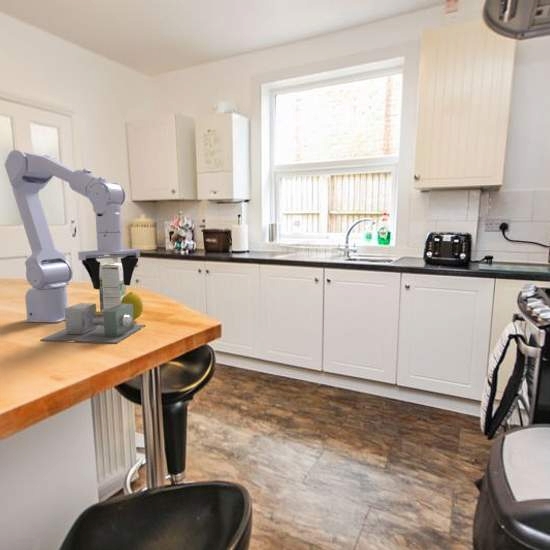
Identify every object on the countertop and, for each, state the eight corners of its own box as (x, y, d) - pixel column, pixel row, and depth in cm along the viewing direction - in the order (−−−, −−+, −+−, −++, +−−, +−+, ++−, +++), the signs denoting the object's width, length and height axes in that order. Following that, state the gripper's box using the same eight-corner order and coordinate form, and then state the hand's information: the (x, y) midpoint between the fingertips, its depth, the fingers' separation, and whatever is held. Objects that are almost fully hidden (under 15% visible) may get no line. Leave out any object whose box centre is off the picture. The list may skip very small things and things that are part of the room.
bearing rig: (86, 338, 87) (84, 310, 86) (105, 328, 95) (103, 303, 94) (121, 339, 86) (119, 311, 85) (138, 329, 94) (136, 303, 93)
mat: (40, 340, 85) (40, 339, 85) (79, 324, 99) (79, 322, 99) (116, 343, 83) (116, 342, 83) (145, 326, 97) (145, 324, 97)
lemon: (136, 324, 98) (134, 294, 97) (116, 323, 99) (115, 293, 98) (147, 319, 103) (146, 290, 102) (129, 318, 105) (127, 289, 103)
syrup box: (107, 311, 113) (104, 262, 111) (127, 310, 113) (125, 262, 111) (100, 316, 107) (96, 264, 105) (121, 315, 108) (118, 264, 106)
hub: (66, 333, 88) (64, 308, 88) (82, 326, 94) (80, 303, 94) (82, 334, 88) (80, 309, 87) (97, 327, 94) (95, 303, 93)
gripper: (84, 233, 86) (88, 292, 88) (144, 232, 96) (147, 285, 98) (73, 232, 91) (77, 288, 93) (131, 231, 101) (134, 282, 103)
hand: (112, 286), depth 96 cm, fingers open, 7 cm apart
